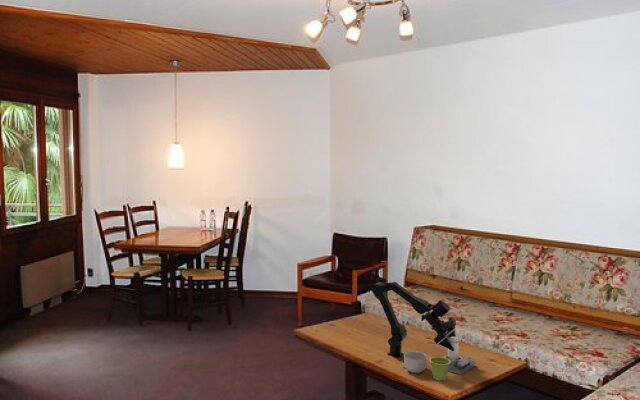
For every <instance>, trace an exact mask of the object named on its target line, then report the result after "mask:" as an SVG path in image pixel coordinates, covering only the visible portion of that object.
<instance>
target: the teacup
mask: <svg viewBox="0 0 640 400" xmlns="http://www.w3.org/2000/svg"><path fill="white" fill-rule="evenodd" d="M403 357H404V358H403V360H404V362H403V363H404V367H405V369H406V370H407V371H408V372H409V373H413V374H419V373H422V372H423V371H425V370H426V369H427V368H426V367H427V354H426V353H424V352H421V351H420V350H416V351H408V352H405V353H404V354H403Z"/></svg>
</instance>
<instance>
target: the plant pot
mask: <svg viewBox="0 0 640 400" xmlns="http://www.w3.org/2000/svg"><path fill="white" fill-rule="evenodd" d="M429 361H430V364H431V370H432V371H431V372H432V378H433V380H436V381H439V382H441V381H446V380H447V377H448V372H449V371H448V367H449V364H450V360H449V359H446V358H444V356H443V357H441V356H435V357H431V358H430V359H429Z"/></svg>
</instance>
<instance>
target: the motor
mask: <svg viewBox="0 0 640 400" xmlns="http://www.w3.org/2000/svg"><path fill="white" fill-rule="evenodd" d="M443 358H446V359H448V354H446V355H444V356H443ZM473 367H476V361H473V359H472V357H471V356H466V357H464V358H463V357H462V356H460V355H459V358H458V360H450V364H449V367H448V372H450V373H452V374H457V375H460V376H461V375H463V374H464V373H466V372H468V371H469V370H470V369H473Z"/></svg>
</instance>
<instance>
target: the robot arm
mask: <svg viewBox="0 0 640 400" xmlns="http://www.w3.org/2000/svg"><path fill="white" fill-rule="evenodd" d="M389 291H390V292H391V291H393V292H394V293H395V294H396V295H398V296H399V297H401V298H402V299H403V300H405V302H408V303H409V304H410V305H411V307H412V308H413V309H414V311H416V313H417V314H419V315H421V319H420V320H421V322H423V321H424V320H425V321H426V322H427V323H428V324H429V325H430V327H431V328H430V330H431V331H435V333H436V334H437V335H436V336H435V337H434V338H433V342H434V343H435V344H436V345H440V346H442V347H444V348H445V349H447V350H448V349H449V350H451V351H454V348H453V346H452V345H451V343H450V342H449V340H448V338H449V337H457V335H456V331H457V330H456V329H457V328H456V326H457V320H456V319H455V318H454V317H453V316H451V317H449V318H448V320H446V321H445V320H443V319H440V318H443V317H444V316H445V315H447V313H449V312H450V311H451V307H450V306H449V305H448V303H446V302H445V301H443V300H442V299H440V300H439V301H438V302H437V303H435V304H433V303H430V302H428V301H427V300H425V299H423V298H421V297H417V296H416V295H414V294H413V293H412V292H410V291H408V290H407V289H406V288H404V287H403V286H401V285H400V284H399V283H398V282H397V281H392V282H391V281H390V282H381V281H380V282H377V283H375V284H373V286H372V287H371V292H372V294H373V296H374V297H375V298H376V299H377V300H378V301H379V302H380V305H381V307H382V309H383V312H384V314H385V316H386V319H387V321H388V323H389V326H390V334H391V337H390V338H389V339H388V340H387V343H388V345H389V352H387V355H388V356H392V357H394V358H400V357H401V356H404V354H405V353H403V352H402V346H403V345H402V343H403V341H404V340H405V339H406V338H407V336H408V334H407V332H408V330H407V329H406V326H405V324H401V323H400V322H399V320H398V318H397V316H396V313H395V311H394V308H393V306H392V304H391V301H390V300H389V297H388V295H389ZM459 346H460V343H459Z"/></svg>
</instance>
